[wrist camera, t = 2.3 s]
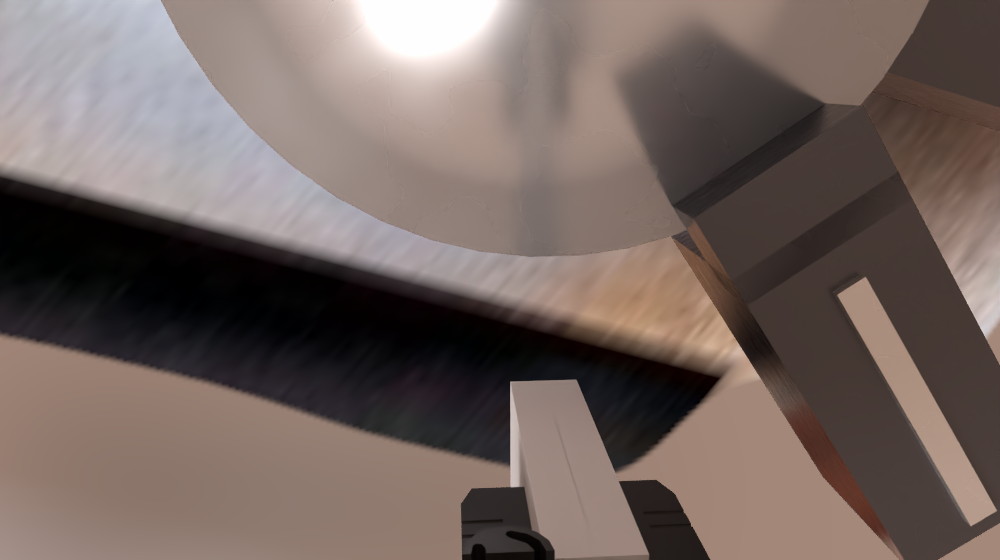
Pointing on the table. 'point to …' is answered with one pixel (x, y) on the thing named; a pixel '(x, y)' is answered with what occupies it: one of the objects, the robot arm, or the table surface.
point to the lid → (662, 192)
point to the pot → (951, 62)
